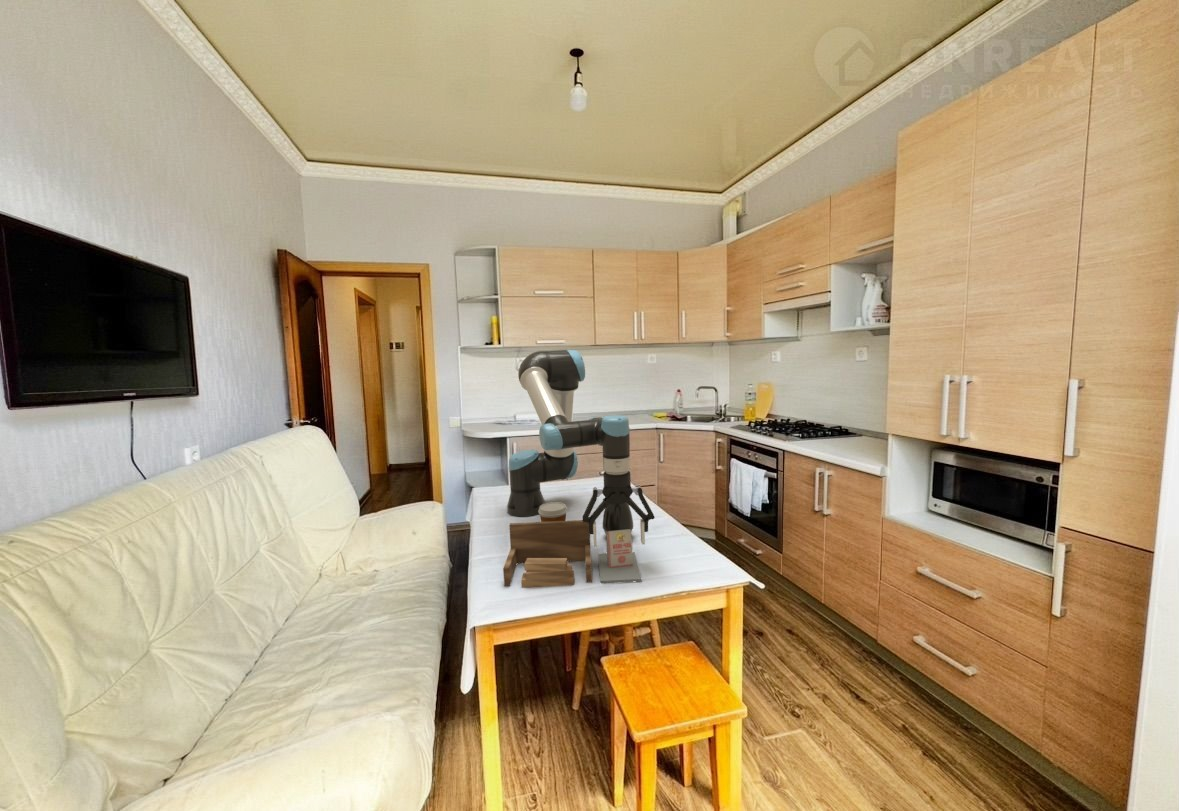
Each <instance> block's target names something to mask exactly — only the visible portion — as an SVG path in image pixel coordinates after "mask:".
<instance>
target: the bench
mask: <svg viewBox="0 0 1179 811" xmlns="http://www.w3.org/2000/svg"><path fill="white" fill-rule="evenodd" d="M508 527H509V540H510V541H509V543H510V549H509V552H508V555H507V558H506V560H505V563H504V565H503V568H502V569H503V570H502V571H503V585H504V587H510V586H511V585H512V580H513V577H514V575H515V571H516V568H517V565H518V564H517V563H525V562H526V560H527V558H567V561H569V562H585V579H586V581H585V582H586V583H593V576H592V575H593V574H592V571H593V570H592V552H591V534H590V533H589V523H587V522H583V520H582V519H576V520H573V519H572V520H566V521H549V522H541V521H533V522H532V521H531V522H529V521H528V522H510V523H509V526H508ZM516 564H517V565H516ZM513 574H514V575H513Z"/></svg>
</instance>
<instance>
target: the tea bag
mask: <svg viewBox="0 0 1179 811" xmlns="http://www.w3.org/2000/svg"><path fill="white" fill-rule="evenodd" d="M633 552H634V551H633V540H632V532H631V530H630V529H626V530H616V531H607V535H606V553H607V563H608V565H609V568H615V567H624V566H633Z"/></svg>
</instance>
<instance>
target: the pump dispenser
mask: <svg viewBox="0 0 1179 811" xmlns="http://www.w3.org/2000/svg"><path fill="white" fill-rule="evenodd" d="M604 498H605V497H603V499H602V501H603V500H604ZM602 529H603V532H604V534H605V536H607V531H616V530H626V529H630V530H631V533H632V532H633V529H634V519H633V514H632V510H631V506H629V505H628V504H627V502H625V503H624V504H615V505H613V504H611V503H610V504H609V505H608V506H607V507H606V508H605V509H604V510H603V516H602Z"/></svg>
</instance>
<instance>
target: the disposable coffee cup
mask: <svg viewBox="0 0 1179 811" xmlns="http://www.w3.org/2000/svg"><path fill="white" fill-rule="evenodd" d="M567 512H568V508H567V506H566V504H565V503H564V502H560V501H550V502H545V504H542V505H541V506H540V507H539V510H538V513H539V514H538V515H539V517H540V518H539V519H540V522H549V521H567V520H566V519H567Z"/></svg>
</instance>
